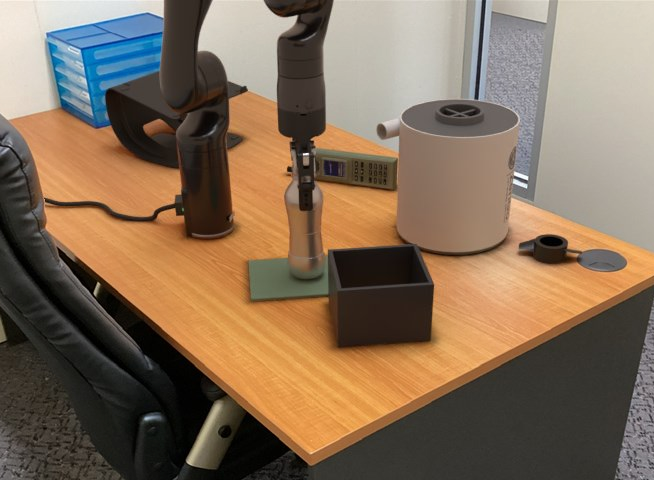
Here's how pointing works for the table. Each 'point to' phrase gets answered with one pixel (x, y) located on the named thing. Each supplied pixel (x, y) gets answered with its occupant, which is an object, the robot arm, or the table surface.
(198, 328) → the table surface
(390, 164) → the handheld radio
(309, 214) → the plastic bottle
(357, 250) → the tote
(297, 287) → the mat
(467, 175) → the humidifier
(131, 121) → the laptop stand
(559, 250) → the black tabbed ring
